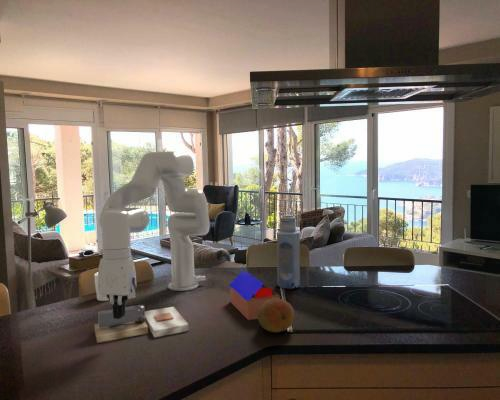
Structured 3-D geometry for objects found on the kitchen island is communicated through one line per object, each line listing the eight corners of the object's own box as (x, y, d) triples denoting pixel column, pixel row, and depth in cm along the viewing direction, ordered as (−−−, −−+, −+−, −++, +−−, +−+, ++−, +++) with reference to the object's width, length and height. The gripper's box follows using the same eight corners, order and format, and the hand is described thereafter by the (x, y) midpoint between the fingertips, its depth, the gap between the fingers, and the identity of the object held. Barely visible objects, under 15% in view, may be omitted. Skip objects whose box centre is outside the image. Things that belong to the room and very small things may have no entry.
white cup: (91, 300, 152) (89, 274, 151) (107, 294, 159) (105, 269, 158) (105, 302, 148) (104, 276, 147) (121, 296, 155) (120, 271, 154)
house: (259, 298, 150) (258, 268, 149) (281, 315, 132) (280, 281, 131) (229, 302, 146) (228, 271, 145) (247, 321, 127) (247, 286, 127)
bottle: (274, 287, 163) (273, 216, 161) (281, 281, 172) (280, 213, 170) (296, 289, 159) (295, 216, 157) (302, 283, 169) (301, 213, 166)
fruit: (266, 341, 111) (265, 307, 111) (249, 326, 123) (248, 295, 122) (301, 334, 116) (301, 301, 115) (281, 319, 128) (281, 289, 127)
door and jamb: (173, 312, 136) (173, 305, 136) (188, 330, 120) (188, 322, 120) (93, 326, 125) (93, 318, 125) (98, 348, 109) (97, 339, 109)
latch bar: (144, 318, 125) (143, 304, 124) (146, 322, 122) (145, 307, 121) (98, 326, 119) (97, 311, 119) (99, 330, 116) (98, 314, 116)
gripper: (85, 255, 110) (88, 319, 111) (132, 257, 105) (134, 324, 106) (103, 250, 117) (105, 310, 118) (147, 252, 113) (149, 314, 114)
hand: (119, 317), depth 112 cm, fingers closed
